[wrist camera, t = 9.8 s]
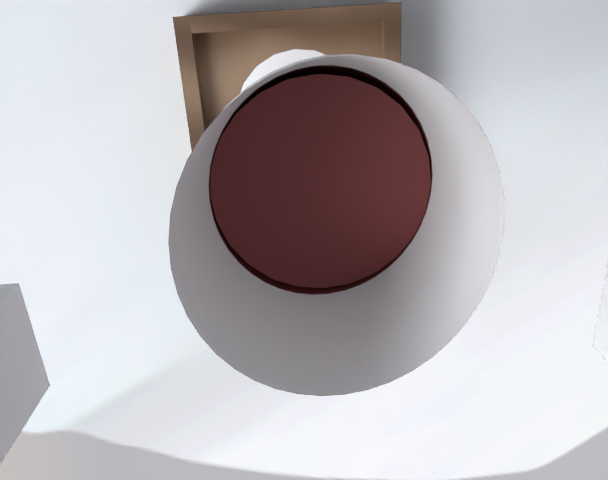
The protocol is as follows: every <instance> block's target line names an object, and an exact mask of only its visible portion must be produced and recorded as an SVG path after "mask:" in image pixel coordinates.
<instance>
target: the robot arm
mask: <svg viewBox="0 0 608 480" xmlns="http://www.w3.org/2000/svg"><path fill="white" fill-rule="evenodd" d="M592 346H593V348H594V349H595V350H596V351H597V352H598V353H599V354H600V355H601V356H602V357H603V358H604V359H605V360H606V361H607V363H608V262H607V268H606V273H605V279H604V284H603V289H602V295H601V300H600V306H599V311H598V316H597V322H596V327H595V333H594V338H593V343H592ZM49 386H50V384H49V381H48V378H47V374H46V371H45V368H44V365H43V361H42V358H41V355H40V352H39V348H38V345H37V342H36V338H35V335H34V332H33V329H32V325H31V322H30V319H29V315H28V312H27V309H26V306H25V302H24V299H23V296H22V293H21V289H20V286H19V283H18V284H4V285H0V464H1V463H2V461H3V460H4V458H5V456H6V455H7V453H8V452H9V450H10V448H11V447H12V445H13V443H14V442H15V440H16V439H17V437H18V435H19V434H20V432H21V431H22V429H23V427H24V426H25V424H26V423H27V421H28V419H29V418H30V416H31V415H32V413H33V411H34V410H35V408H36V407H37V405H38V403H39V402H40V400H41V399H42V397H43V395H44V394H45V392H46V390H47V389H48V387H49Z"/></svg>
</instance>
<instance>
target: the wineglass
mask: <svg viewBox="0 0 608 480" xmlns="http://www.w3.org/2000/svg"><path fill="white" fill-rule="evenodd" d="M503 230H504V193H503V187H502V181H501V174H500V170H499V167H498V164H497V161H496V158H495V155H494V152H493V149H492V146H491V145H490V143H489V141H488V139H487V137H486V135H485V133H484V132H483V130H482V128H481V126H480V124H479V122H478V121H477V120H476V119H475V117H474V116H473V115H472V114H471V113H470V111H469V110H468V109H467V108H466V106H465V105H464V104H463V103H462V101H461V100H459V99H458V98H457V97H456V96H455V95H454V94H452V93H451V92H450V91H449V90H448V89H447V88H445V87H444V86H443V85H442V84H441V83H439V82H438V81H436V80H434V79H432V78H431V77H429V76H427V75H425V74H424V73H422V72H420V71H418V70H417V69H414V68H412V67H409V66H406V65H403V64H400V63H397V62H394V61H391V60H388V59H383V58H376V57H369V56H362V55H355V54H344V55H325V54H322V53H320V52H318V51H315V50H301V49H293V50H289V51H285V52H282V53H278V54H274V55H273V56H271V57H270V58H268V59H267V60H265V61H264V62H262V63H261V64H259V65H258V66H256V68H255V69H254V70H253V72H252V73H251V74H250V76H249V77H248V78H247V80H246V81H245V82H244V84H243V87H242V90H241V93H240V94H239V95H238V96H237V97H235V98H234V99H233V100H232V101H231V102H230V103H229V104H227V105H226V107H225V108H224V109H223V110H222V111H221V112H220V114H219V115H218V116H217V117H216V118H215V120H214V121H213V122H212V123H211V125H210V126H209V127H208V128H207V129H206V131H205V132H204V133H203V134H202V136H201V138H200V139H199V141H198V143H197V144H196V146H195V148H194V149H193V151H192V153H191V154H190V156H189V158H188V159H187V162H186V164H185V167H184V169H183V172H182V174H181V177H180V179H179V182H178V184H177V187H176V191H175V196H174V200H173V205H172V209H171V214H170V227H169V252H170V263H171V270H172V274H173V278H174V282H175V286H176V290H177V293H178V296H179V298H180V300H181V303H182V305H183V307H184V309H185V312H186V314H187V316H188V318H189V319H190V321H191V322H192V324H193V326H194V327H195V329H196V330H197V332H198V333H199V335H200V336H201V338H202V339H203V340H204V341H205V342H206V343H207V344H208V345H209V346H210V348H211V349H212V350H213V351H214V352H215V353H216V354H217V355H218V356H219V357H220V358H222V359H223V360H224V361H225V362H227V363H228V364H229V365H230V366H232V367H233V368H234V369H236V370H237V371H239V372H241V373H242V374H244V375H246V376H248V377H249V378H251V379H253V380H254V381H257V382H260V383H262V384H265V385H267V386H270V387H272V388H275V389H278V390H283V391H287V392H292V393H296V394H304V395H316V396H328V395H345V394H350V393H355V392H360V391H364V390H369V389H372V388H374V387H377V386H380V385H383V384H386V383H389V382H391V381H393V380H395V379H397V378H399V377H401V376H403V375H405V374H407V373H409V372H411V371H413V370H414V369H416V368H417V367H419V366H420V365H422V364H423V363H425V362H426V361H428V360H429V359H431V358H432V357H433V356H434V355H435V354H437V353H438V352H439V351H440V350H441V349H442V348H443V347H444V346H445V345H447V344H448V343H449V342H450V341H451V340H452V339H453V338H454V336H455V335H456V334H457V333H458V332H459V331H460V329H461V328H462V327H463V326H464V325H465V324H466V323H467V321H468V320H469V318H470V317H471V315H472V314H473V312H474V311H475V309H476V307H477V306H478V304H479V303H480V301H481V300H482V298H483V295H484V293H485V291H486V289H487V287H488V285H489V283H490V281H491V279H492V276H493V273H494V270H495V267H496V263H497V260H498V257H499V254H500V249H501V243H502V237H503Z"/></svg>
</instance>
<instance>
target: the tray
mask: <svg viewBox="0 0 608 480" xmlns="http://www.w3.org/2000/svg"><path fill="white" fill-rule="evenodd" d="M173 22H174V29H175V36H176V43H177V50H178V57H179V64H180V71H181V78H182V85H183V92H184V99H185V106H186V113H187V120H188V127H189V134H190V141H191V148H192V151H193V149H194V148H195V146H196V144H197V143H198V141H199V139H200V138H201V136H202V134H203V133H204V132H205V131H206V129H207V128H208V127H209V126H210V125H211V123H212V122H213V121H214V120H215V118H216V117H217V116H218V115H219V114H220V112H221V111H222V110H223V109H224V108H225V107H226V105H227V104H229V103H230V102H231V101H232V100H233V99H234V98H235V97H237V96H238V95H239V94H240V93H241V90H242V87H243V84H244V82H245V81H246V80H247V78H248V77H249V76H250V74H251V73H252V72H253V70H254V69H255V68H256V66H258V65H259V64H261V63H262V62H264V61H265V60H267V59H268V58H270V57H271V56H273V55H274V54H278V53H282V52H285V51H289V50H293V49H301V50H315V51H318V52H320V53H322V54H325V55H344V54H355V55H362V56H369V57H376V58H383V59H388V60H391V61H394V62H397V63H400V64H401V3H385V4H370V5H354V6H338V7H322V8H307V9H291V10H275V11H259V12H244V13H228V14H212V15H196V16H181V17H173Z"/></svg>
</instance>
